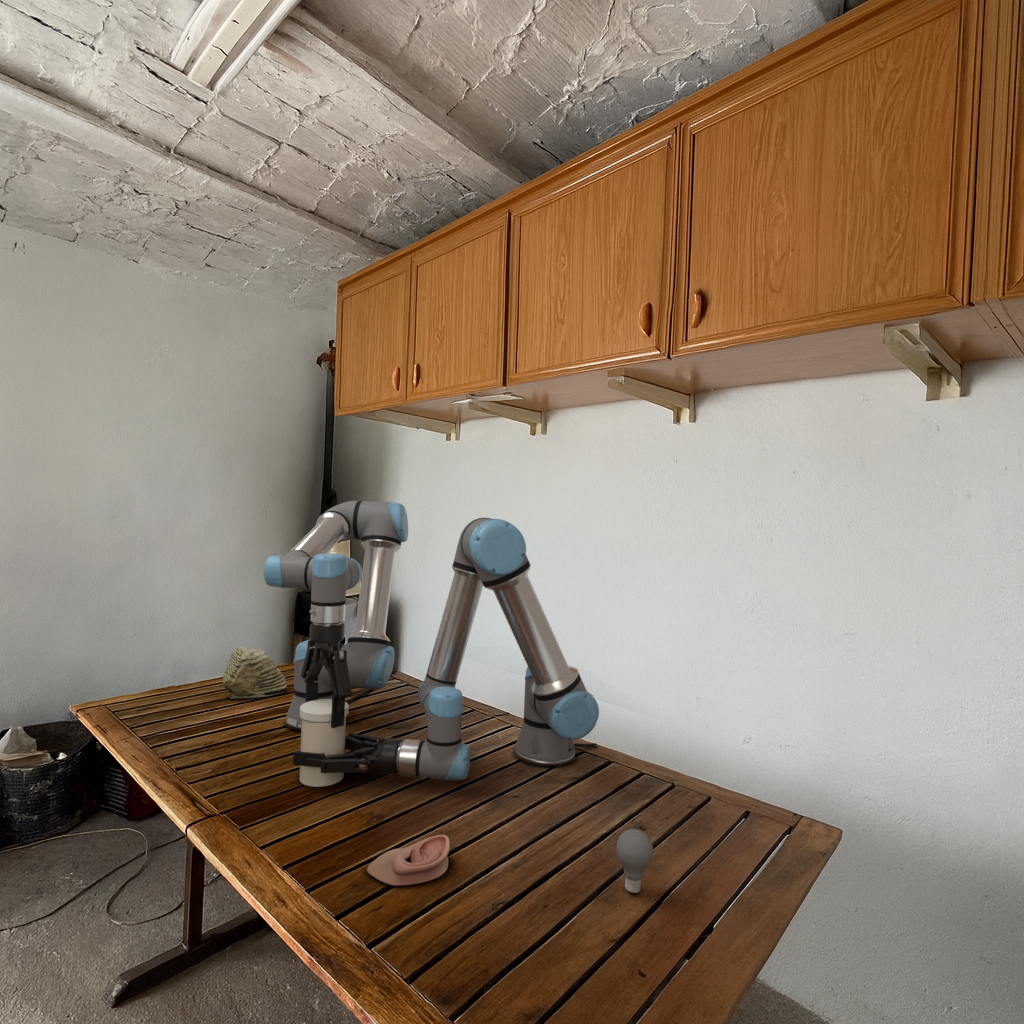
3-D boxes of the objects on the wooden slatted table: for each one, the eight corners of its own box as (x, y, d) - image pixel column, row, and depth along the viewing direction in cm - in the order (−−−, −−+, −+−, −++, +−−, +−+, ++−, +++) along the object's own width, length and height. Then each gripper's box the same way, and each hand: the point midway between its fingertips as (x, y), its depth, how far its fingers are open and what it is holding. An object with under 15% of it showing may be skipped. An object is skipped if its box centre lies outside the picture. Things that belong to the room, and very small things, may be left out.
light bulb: (610, 879, 108) (613, 822, 108) (644, 879, 109) (647, 822, 109) (619, 902, 102) (622, 840, 102) (655, 901, 103) (658, 840, 103)
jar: (307, 767, 148) (310, 701, 148) (349, 769, 148) (351, 703, 147) (292, 785, 138) (295, 715, 138) (336, 788, 138) (339, 717, 138)
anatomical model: (359, 856, 105) (387, 822, 116) (358, 879, 105) (386, 843, 116) (435, 869, 102) (456, 833, 114) (434, 893, 103) (455, 855, 114)
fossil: (218, 695, 195) (220, 647, 195) (278, 685, 208) (279, 640, 207) (228, 703, 189) (230, 653, 188) (289, 692, 201) (290, 645, 201)
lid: (332, 724, 136) (332, 716, 136) (289, 718, 139) (290, 710, 139) (356, 709, 146) (357, 702, 146) (316, 703, 149) (317, 696, 149)
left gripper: (288, 615, 148) (284, 707, 149) (338, 634, 131) (334, 738, 131) (318, 612, 154) (314, 701, 154) (370, 630, 136) (366, 730, 137)
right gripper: (384, 796, 130) (280, 787, 132) (412, 753, 152) (323, 746, 155) (386, 760, 130) (282, 751, 132) (413, 722, 152) (324, 715, 154)
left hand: (323, 718), depth 143 cm, fingers open, 12 cm apart
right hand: (304, 748), depth 143 cm, fingers closed on jar, 10 cm apart
